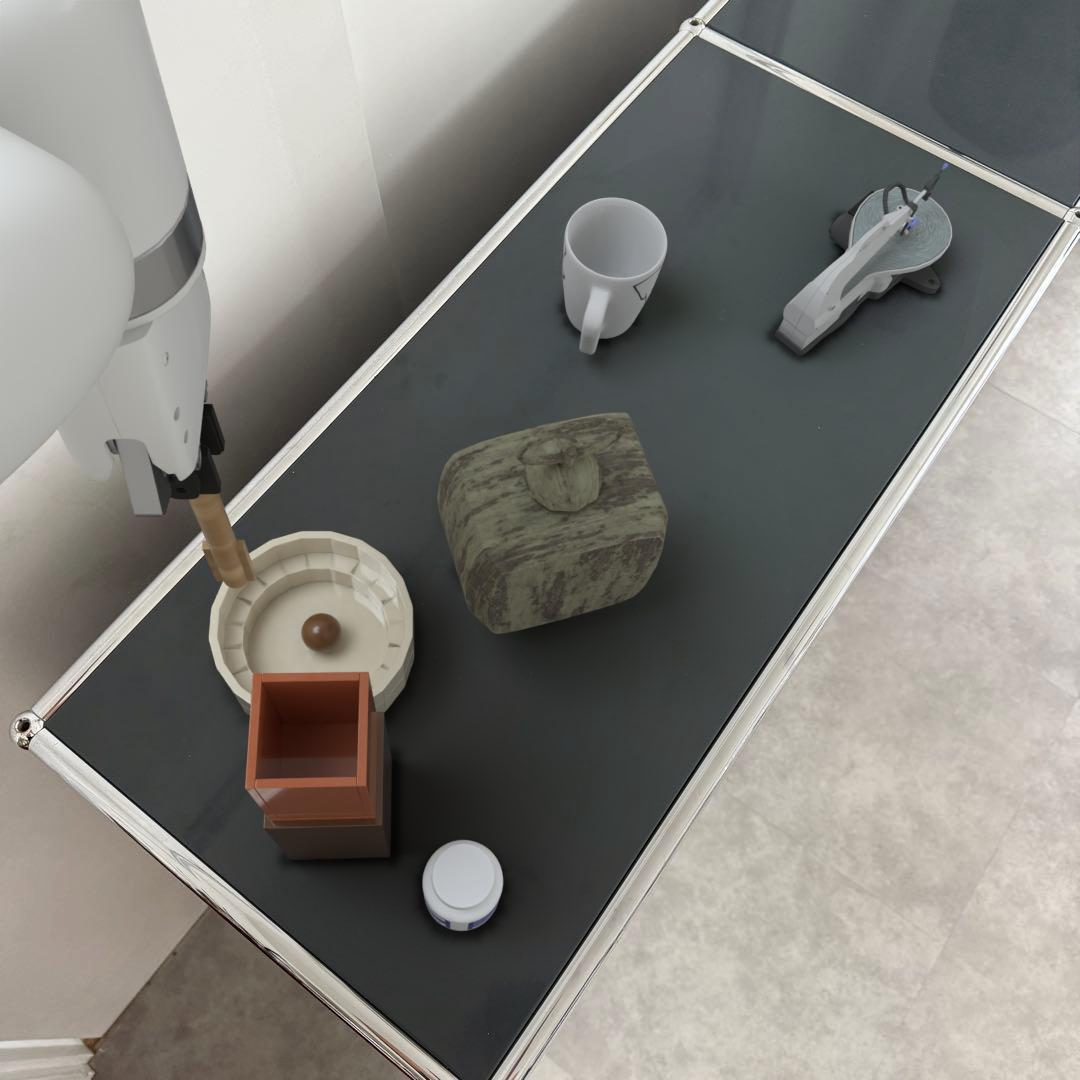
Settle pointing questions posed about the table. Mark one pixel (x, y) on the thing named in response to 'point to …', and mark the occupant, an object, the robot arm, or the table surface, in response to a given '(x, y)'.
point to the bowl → (304, 590)
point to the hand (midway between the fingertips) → (191, 467)
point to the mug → (610, 266)
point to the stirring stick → (222, 542)
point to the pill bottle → (462, 885)
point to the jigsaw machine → (870, 260)
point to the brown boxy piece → (320, 764)
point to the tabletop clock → (552, 521)
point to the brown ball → (321, 633)
